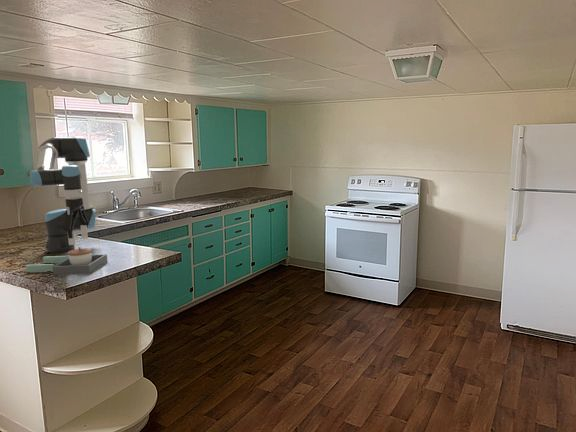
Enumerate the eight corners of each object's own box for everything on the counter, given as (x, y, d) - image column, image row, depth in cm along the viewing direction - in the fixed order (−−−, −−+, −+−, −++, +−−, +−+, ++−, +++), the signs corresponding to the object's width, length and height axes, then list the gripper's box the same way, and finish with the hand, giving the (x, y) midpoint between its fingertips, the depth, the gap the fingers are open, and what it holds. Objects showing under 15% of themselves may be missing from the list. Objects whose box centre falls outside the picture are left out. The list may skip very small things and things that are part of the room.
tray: (53, 275, 208) (52, 266, 208) (74, 263, 229) (73, 255, 228) (90, 273, 208) (89, 265, 208) (107, 261, 229) (106, 254, 228)
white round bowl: (87, 262, 226) (85, 244, 224) (97, 265, 219) (95, 246, 217) (65, 266, 218) (63, 248, 217) (75, 270, 211) (72, 251, 210)
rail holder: (26, 272, 214) (25, 265, 214) (45, 263, 231) (44, 256, 230) (53, 271, 214) (52, 264, 214) (70, 262, 231) (69, 255, 230)
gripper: (69, 201, 201) (74, 247, 205) (92, 194, 225) (97, 235, 229) (52, 202, 201) (58, 248, 205) (77, 194, 225) (82, 235, 229)
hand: (78, 241), depth 217 cm, fingers open, 13 cm apart
